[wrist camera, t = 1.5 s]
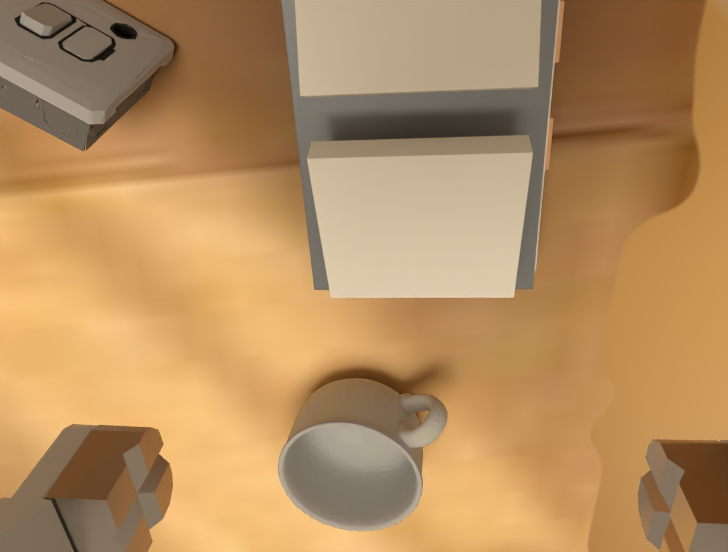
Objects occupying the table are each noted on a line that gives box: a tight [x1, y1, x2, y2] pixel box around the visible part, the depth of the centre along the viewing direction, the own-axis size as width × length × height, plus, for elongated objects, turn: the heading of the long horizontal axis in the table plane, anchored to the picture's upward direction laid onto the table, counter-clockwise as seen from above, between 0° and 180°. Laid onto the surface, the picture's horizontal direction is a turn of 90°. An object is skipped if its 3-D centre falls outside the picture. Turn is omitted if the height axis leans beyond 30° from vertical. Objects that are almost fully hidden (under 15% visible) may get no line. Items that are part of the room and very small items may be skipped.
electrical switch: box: [0, 0, 174, 151], centre depth 34 cm, size 9×5×9 cm, turn 61°
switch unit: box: [281, 0, 565, 290], centre depth 34 cm, size 24×14×7 cm, turn 3°
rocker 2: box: [307, 135, 533, 298], centre depth 33 cm, size 10×11×2 cm
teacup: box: [278, 378, 447, 531], centre depth 47 cm, size 14×11×8 cm
